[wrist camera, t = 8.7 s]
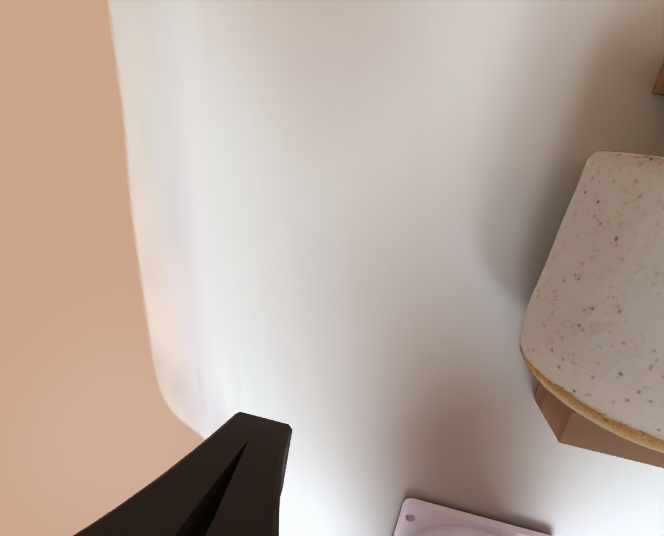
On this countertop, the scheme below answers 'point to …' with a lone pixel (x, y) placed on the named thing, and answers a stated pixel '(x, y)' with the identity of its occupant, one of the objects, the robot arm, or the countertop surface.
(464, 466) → the countertop surface
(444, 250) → the countertop surface
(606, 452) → the brown wooden tray
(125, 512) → the robot arm
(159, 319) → the countertop surface
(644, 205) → the ceramic mug
